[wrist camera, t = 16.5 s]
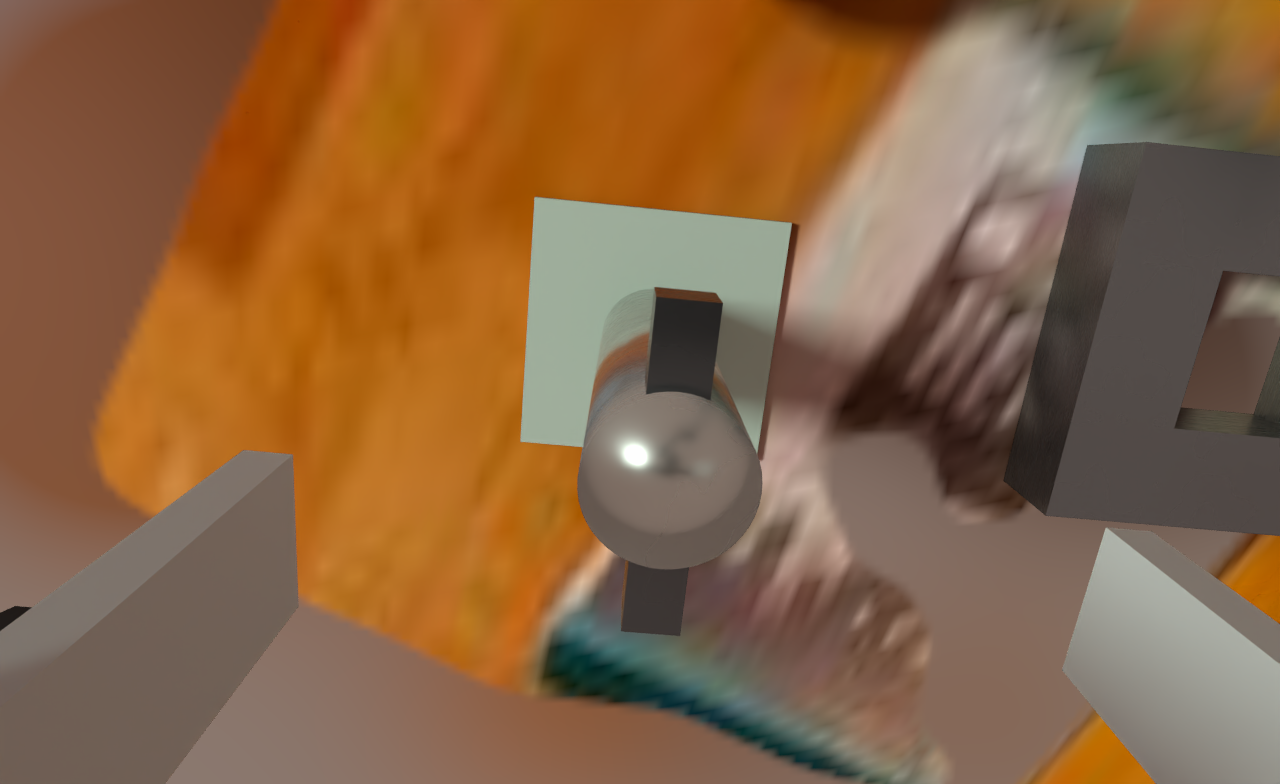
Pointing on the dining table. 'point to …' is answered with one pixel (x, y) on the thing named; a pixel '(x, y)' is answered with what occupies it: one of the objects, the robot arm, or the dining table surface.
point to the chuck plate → (1151, 346)
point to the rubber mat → (632, 261)
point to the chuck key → (664, 451)
